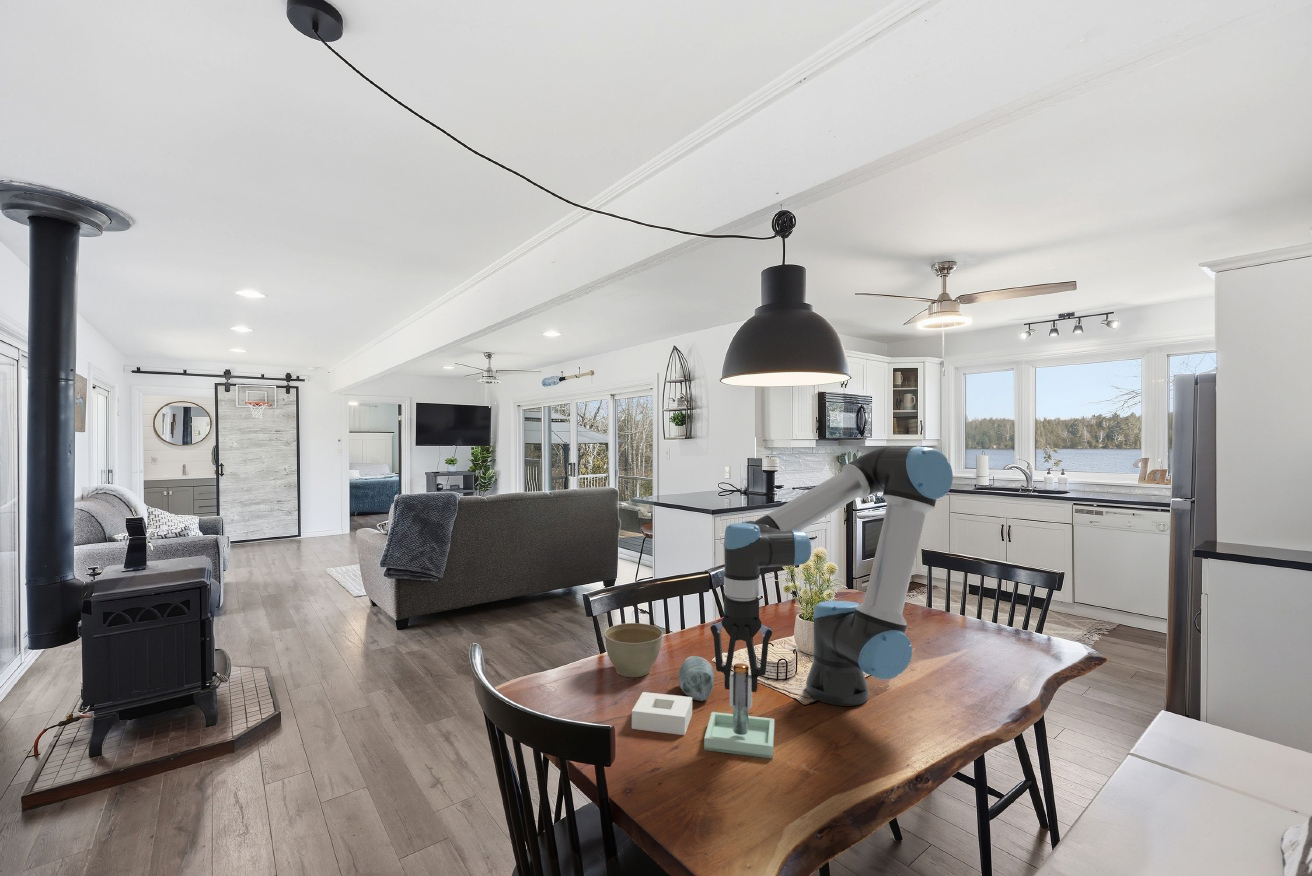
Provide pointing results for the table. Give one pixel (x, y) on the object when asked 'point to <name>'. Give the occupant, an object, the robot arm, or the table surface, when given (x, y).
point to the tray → (740, 736)
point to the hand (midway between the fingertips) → (740, 704)
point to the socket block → (662, 713)
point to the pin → (740, 699)
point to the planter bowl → (633, 647)
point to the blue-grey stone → (696, 678)
